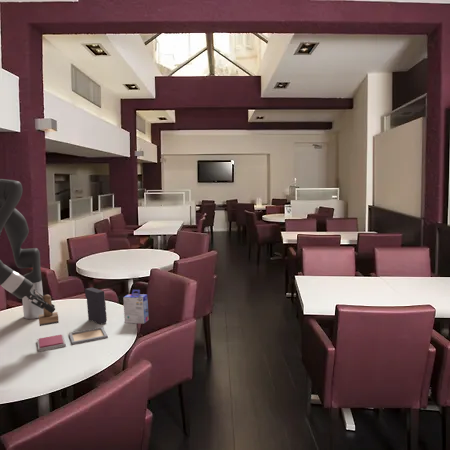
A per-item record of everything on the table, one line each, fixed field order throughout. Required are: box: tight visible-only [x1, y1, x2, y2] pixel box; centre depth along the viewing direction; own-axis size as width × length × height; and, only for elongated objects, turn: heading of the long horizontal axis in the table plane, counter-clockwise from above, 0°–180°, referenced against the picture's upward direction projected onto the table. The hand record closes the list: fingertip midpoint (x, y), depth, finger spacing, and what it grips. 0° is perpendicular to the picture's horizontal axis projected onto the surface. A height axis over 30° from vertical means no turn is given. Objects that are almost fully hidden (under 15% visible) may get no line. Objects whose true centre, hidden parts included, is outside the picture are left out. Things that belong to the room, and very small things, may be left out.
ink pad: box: [36, 334, 67, 352], centre depth 174 cm, size 11×10×2 cm
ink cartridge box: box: [122, 289, 150, 325], centre depth 196 cm, size 10×6×14 cm, turn 78°
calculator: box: [84, 286, 108, 325], centre depth 199 cm, size 11×4×15 cm, turn 47°
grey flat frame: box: [68, 326, 108, 345], centre depth 181 cm, size 12×14×1 cm
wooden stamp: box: [38, 294, 60, 327], centre depth 173 cm, size 5×7×12 cm
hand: (53, 309), depth 174 cm, fingers closed on wooden stamp, 3 cm apart
